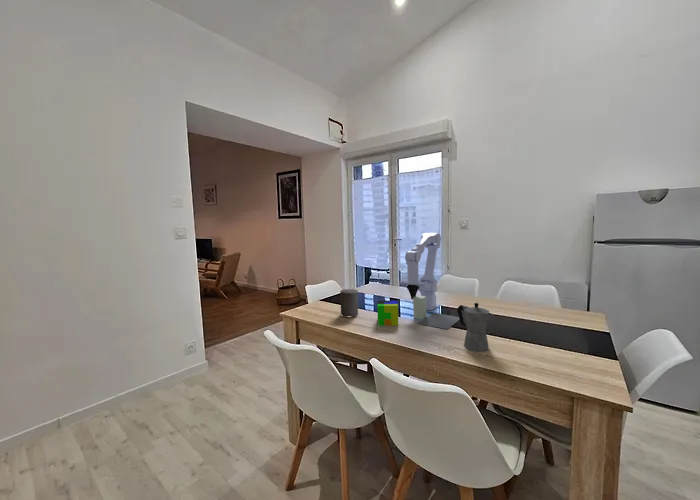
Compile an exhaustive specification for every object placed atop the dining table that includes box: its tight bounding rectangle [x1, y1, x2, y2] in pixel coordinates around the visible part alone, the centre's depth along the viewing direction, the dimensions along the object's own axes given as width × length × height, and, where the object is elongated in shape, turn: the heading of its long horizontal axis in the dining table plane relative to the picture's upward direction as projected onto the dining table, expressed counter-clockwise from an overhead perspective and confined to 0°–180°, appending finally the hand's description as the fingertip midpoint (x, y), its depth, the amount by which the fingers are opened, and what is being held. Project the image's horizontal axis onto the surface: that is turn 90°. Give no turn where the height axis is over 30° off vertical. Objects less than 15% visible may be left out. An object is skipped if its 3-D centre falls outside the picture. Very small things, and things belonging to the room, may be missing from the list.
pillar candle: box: [340, 288, 359, 317], centre depth 168 cm, size 10×10×15 cm
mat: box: [417, 312, 460, 331], centre depth 154 cm, size 20×15×1 cm
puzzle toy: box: [376, 300, 399, 327], centre depth 154 cm, size 10×10×10 cm
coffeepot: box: [456, 302, 493, 353], centre depth 121 cm, size 15×9×18 cm, turn 33°
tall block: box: [412, 294, 428, 320], centre depth 160 cm, size 5×5×11 cm
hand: (413, 298), depth 162 cm, fingers closed
